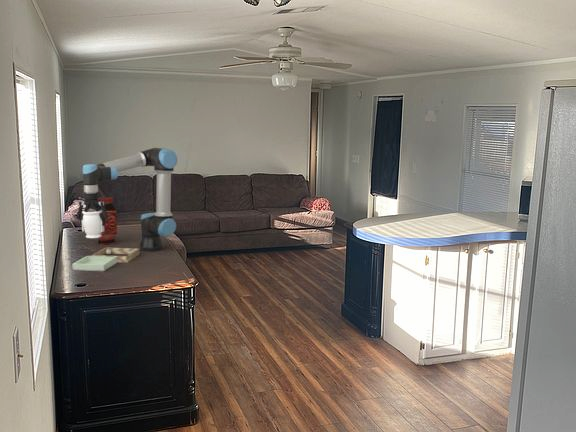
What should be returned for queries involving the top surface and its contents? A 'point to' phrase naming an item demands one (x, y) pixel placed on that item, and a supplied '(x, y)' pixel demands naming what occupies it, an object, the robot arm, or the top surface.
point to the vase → (108, 222)
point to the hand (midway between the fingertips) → (93, 231)
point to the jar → (92, 223)
